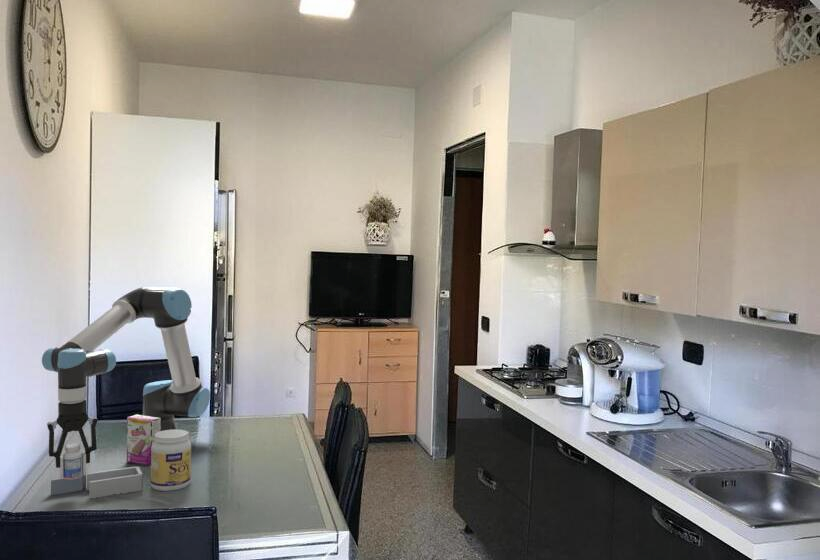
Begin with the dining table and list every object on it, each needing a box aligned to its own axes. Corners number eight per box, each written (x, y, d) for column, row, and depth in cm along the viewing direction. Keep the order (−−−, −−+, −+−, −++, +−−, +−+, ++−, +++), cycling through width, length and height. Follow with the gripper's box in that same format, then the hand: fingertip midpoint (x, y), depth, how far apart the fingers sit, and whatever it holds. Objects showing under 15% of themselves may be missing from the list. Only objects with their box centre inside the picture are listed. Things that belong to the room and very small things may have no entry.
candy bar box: (125, 462, 222) (126, 417, 222) (136, 458, 227) (136, 413, 226) (151, 467, 218) (151, 420, 218) (161, 462, 223) (161, 417, 223)
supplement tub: (166, 495, 193) (167, 441, 193) (142, 486, 200) (142, 434, 199) (198, 483, 204) (199, 432, 203) (174, 476, 210) (175, 426, 210)
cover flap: (86, 489, 196) (86, 473, 196) (50, 495, 191) (51, 478, 191) (85, 488, 197) (86, 472, 197) (50, 494, 192) (50, 477, 192)
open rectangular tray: (138, 481, 205) (138, 466, 204) (142, 490, 197) (143, 474, 197) (86, 489, 197) (86, 473, 196) (89, 498, 189) (89, 482, 189)
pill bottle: (68, 473, 193) (67, 442, 193) (86, 473, 194) (86, 442, 193) (59, 480, 188) (59, 448, 187) (78, 479, 188) (78, 448, 188)
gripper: (104, 394, 197) (105, 466, 199) (36, 401, 188) (37, 477, 189) (107, 399, 191) (108, 474, 192) (37, 407, 181) (38, 485, 183)
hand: (73, 475), depth 191 cm, fingers closed on pill bottle, 5 cm apart
